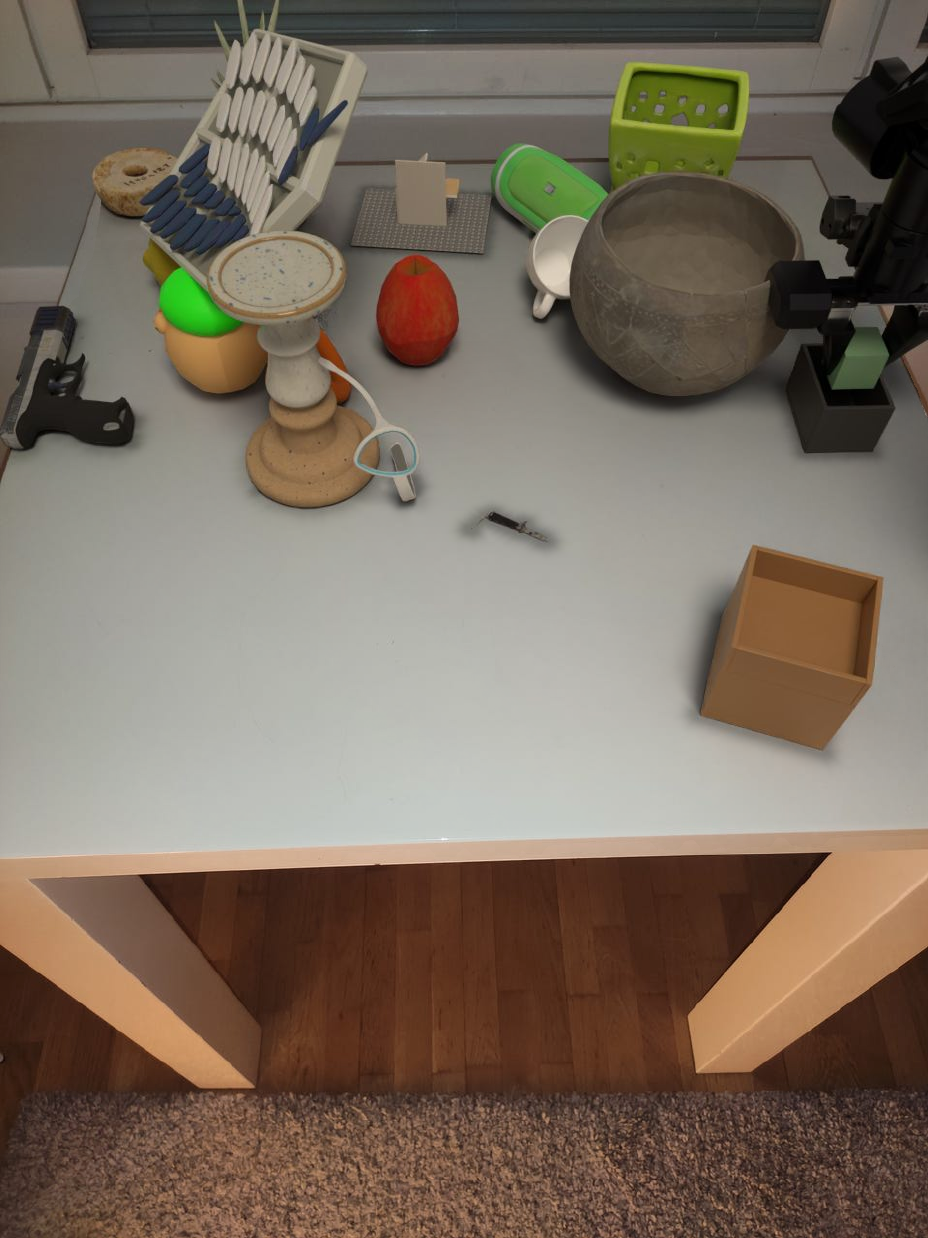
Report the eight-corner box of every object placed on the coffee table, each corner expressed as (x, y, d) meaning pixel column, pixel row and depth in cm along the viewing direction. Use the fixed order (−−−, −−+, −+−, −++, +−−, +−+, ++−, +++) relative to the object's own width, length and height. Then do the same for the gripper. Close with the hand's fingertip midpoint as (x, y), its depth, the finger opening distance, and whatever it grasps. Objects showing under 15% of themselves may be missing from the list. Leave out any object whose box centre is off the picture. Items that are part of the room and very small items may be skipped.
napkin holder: (401, 205, 107) (397, 143, 101) (460, 209, 107) (459, 146, 100) (397, 223, 105) (393, 160, 99) (457, 226, 105) (456, 163, 98)
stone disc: (204, 195, 109) (158, 166, 113) (196, 164, 106) (149, 135, 110) (129, 230, 104) (84, 198, 109) (118, 199, 101) (72, 167, 106)
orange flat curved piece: (333, 362, 93) (232, 255, 82) (347, 353, 93) (246, 244, 81) (346, 424, 87) (239, 318, 76) (361, 415, 87) (254, 307, 76)
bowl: (813, 372, 91) (868, 236, 78) (663, 466, 84) (697, 334, 71) (666, 269, 100) (694, 133, 88) (519, 346, 93) (527, 210, 81)
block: (862, 360, 84) (877, 326, 81) (873, 388, 82) (889, 355, 79) (821, 361, 84) (835, 327, 81) (831, 389, 82) (846, 355, 79)
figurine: (297, 366, 92) (276, 262, 82) (238, 426, 87) (209, 323, 77) (208, 330, 95) (177, 225, 85) (146, 386, 90) (106, 282, 80)
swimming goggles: (310, 363, 72) (375, 338, 71) (320, 352, 80) (379, 330, 79) (377, 525, 77) (438, 502, 77) (380, 500, 85) (436, 480, 84)
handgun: (130, 449, 86) (1, 456, 85) (155, 318, 97) (41, 324, 96) (120, 425, 83) (-13, 432, 83) (147, 293, 94) (29, 299, 94)
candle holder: (313, 393, 89) (278, 202, 73) (407, 452, 85) (392, 262, 68) (219, 465, 84) (157, 277, 67) (314, 531, 80) (273, 347, 63)
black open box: (873, 451, 85) (896, 408, 81) (804, 453, 85) (824, 409, 81) (849, 386, 90) (869, 341, 85) (784, 387, 90) (801, 343, 85)
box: (836, 650, 73) (883, 577, 65) (823, 750, 68) (872, 685, 60) (721, 619, 75) (752, 544, 67) (700, 715, 70) (731, 646, 62)
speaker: (628, 196, 93) (578, 254, 94) (648, 235, 99) (600, 290, 101) (521, 123, 101) (476, 178, 102) (546, 164, 107) (503, 215, 109)
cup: (597, 248, 98) (619, 237, 92) (559, 336, 99) (578, 331, 93) (534, 214, 96) (552, 200, 90) (496, 305, 97) (511, 297, 91)
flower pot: (725, 180, 110) (753, 69, 99) (716, 249, 102) (745, 136, 92) (610, 166, 111) (625, 55, 101) (592, 232, 104) (607, 120, 93)
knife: (537, 559, 79) (553, 534, 80) (537, 557, 78) (553, 531, 80) (471, 529, 80) (487, 505, 82) (471, 527, 80) (487, 502, 81)
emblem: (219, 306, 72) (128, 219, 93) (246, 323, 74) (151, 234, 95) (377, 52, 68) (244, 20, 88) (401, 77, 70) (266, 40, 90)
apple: (474, 361, 92) (475, 268, 83) (402, 389, 90) (394, 297, 81) (436, 315, 96) (433, 222, 87) (365, 341, 94) (355, 248, 85)
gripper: (1004, 152, 74) (924, 312, 87) (776, 156, 74) (730, 315, 87) (1056, 234, 68) (962, 393, 81) (807, 238, 68) (753, 397, 81)
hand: (849, 371), depth 83 cm, fingers closed on block, 4 cm apart
